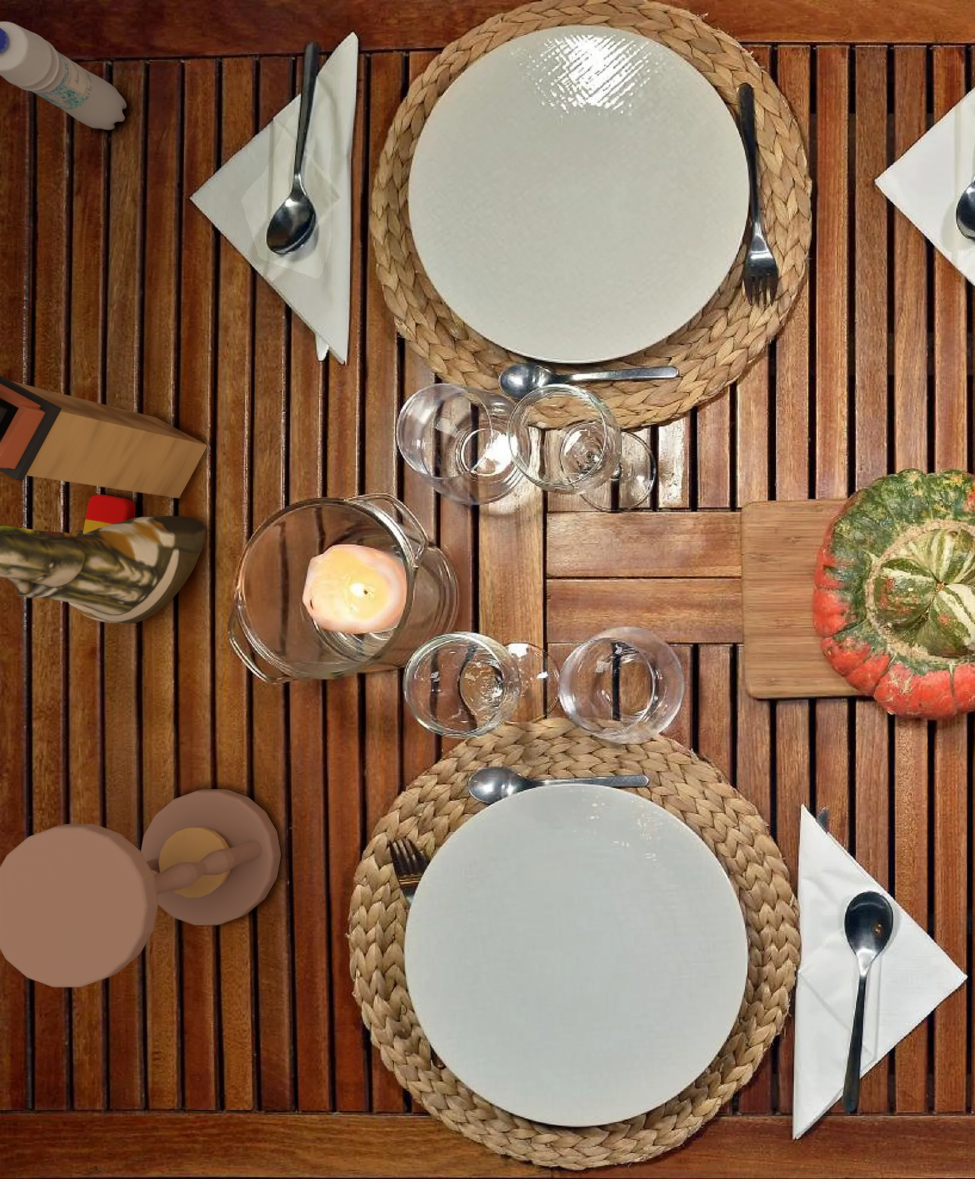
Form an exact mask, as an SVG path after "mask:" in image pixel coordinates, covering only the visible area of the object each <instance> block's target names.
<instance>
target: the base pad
mask: <svg viewBox="0 0 975 1179" xmlns="http://www.w3.org/2000/svg"><path fill="white" fill-rule="evenodd" d="M12 381H13V380H10V379H8V378H7V377H5V376H2V375H1V374H0V406H1V407H3V408H5V409H6V410H7V412H6V414H5V416H4V417H3V419H2V421H1V423H0V472H1V473H2V474H4V475H5V476H8V477H9V478H12V479H13V480H16V481H22V482H23V481H24V480H25V478H26V474H27V473H28V471H29V469H30V467H31V465H32V463H33V461H34V460H35V458H36V456H37V454H38V452H39V450H40V449H41V447H42V445H43V443H44V441H45V439H46V437H47V436H48V434H49V432H50V430H51V428H52V426H53V424H54V423H55V421H56V419H57V417H58V415H59V413H60V411H61V410H62V408H60V407H58V406H56V405H54V404H53V403H51V402H49V401H47V400H45V399H43V398H42V397H40V396H38V395H36V394H34V393H32V392H30V391H29V390H27V389H25V388H23V387H21V386H19V385H17V384H16V383H14V382H15V381H13V382H12Z"/></svg>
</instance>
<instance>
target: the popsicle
mask: <svg viewBox="0 0 975 1179" xmlns="http://www.w3.org/2000/svg"><path fill="white" fill-rule="evenodd" d="M136 508H137V507H136V504H135V502H134V501H133V500H131V499H129V498H125V497H121V496H116V495H115V496H113V495H108V494H100V493H98V494H94V495H92V496H91V497H90V498H89V499H88V503H87V508H86V513H85V519H84V524H83V529H82V530H83V534H84V533H87V532H90V531H93V530H96V529H98V528H102V527H106V526H109V525H112V524H115V523H118V522H122V521H126V520H130V519H133V518H136V517H135V516H136V510H137V509H136Z"/></svg>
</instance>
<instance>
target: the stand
mask: <svg viewBox="0 0 975 1179" xmlns="http://www.w3.org/2000/svg"><path fill="white" fill-rule="evenodd" d="M11 381H12V382H14V383H16V384H17V385H19V386H21V387H23V388H25V389H27V390H29V391H30V392H32V393H34V394H36V395H38V396H40V397H42V398H43V399H45V400H47V401H49V402H51V403H53V404H54V405H56V406H58V407H60V408H62V410H61V411H60V413H59V415H58V417H57V419H56V421H55V423H54V424H53V426H52V428H51V430H50V432H49V434H48V436H47V437H46V439H45V441H44V443H43V445H42V447H41V449H40V450H39V452H38V454H37V456H36V458H35V460H34V461H33V463H32V465H31V467H30V469H29V471H28V473H27V474H26V476H27V477H34V478H40V479H46V480H53V481H61V482H66V483H67V482H68V483H74V484H79V485H80V484H81V485H86V486H87V485H88V486H95V487H101V488H106V489H107V488H108V489H113V490H114V489H115V490H120V491H121V490H122V491H126V492H134V493H141V494H145V495H146V494H147V495H153V496H161V497H167V498H173V499H180V498H181V496H182V494H183V492H184V490H185V488H186V487H187V485H188V483H189V481H190V479H191V477H192V475H193V473H194V472H195V470H196V468H197V467H198V464H199V462H200V460H201V459H202V457H203V455H204V453H205V452H206V449H207V448H208V444H206V443H204V442H202V441H201V440H198V439H197V438H195V437H193V436H191V435H189V434H187V433H185V432H184V431H182V430H181V429H178V428H176V427H175V426H173V425H171V424H169V423H167V422H165V421H164V420H161V419H159V418H157V417H155V416H153V415H152V416H151V415H149V414H148V415H147V414H144V413H139V412H135V411H132V410H128V409H125V408H124V409H123V408H119V407H116V406H112V405H108V404H104V403H100V402H96V401H91V400H88V399H83V398H80V397H76V396H73V395H68V394H64V393H60V392H56V391H52V390H49V389H44V388H41V387H36V386H32V385H28V384H25V383H20V382H16V381H13V380H11ZM26 476H25V477H26Z"/></svg>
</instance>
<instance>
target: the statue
mask: <svg viewBox="0 0 975 1179" xmlns="http://www.w3.org/2000/svg"><path fill="white" fill-rule="evenodd" d="M206 533H207V529H206V526H205V524H204V523H203V522H202V521H200V520H198V519H196V518H193V517H188V516H180V515H164V514H163V515H160V514H159V515H145V516H139V517H134V518H133V519H130V520H126V521H122V522H118V523H115V524H112V525H109V526H106V527H102V528H98V529H96V530H93V531H90V532H87V533H84V534H83V529H77V530H75V531H72V532H70V533H68V532H63V531H54V530H53V531H51V530H38V529H30V528H23V527H17V526H11V525H5V524H0V578H6V579H7V580H8V581H9V582H10V583H11V584H12V585H13V586H14V587H16V588H17V590H16V594H17V597H24V598H26V599H47V600H53V601H57V602H65V603H68V604H69V605H70V606H71V607H72V608H75V609H77V611H78V612H79V613H80V615H81V616H85V617H87V618H89V619H91V620H94V621H97V622H102V623H111V624H121V625H131V624H137V623H139V622H142V621H145V620H147V619H148V618H150V617H153V615H155V614H157V613H158V612H160V611H161V610H162V609H163V608H164V607H165V606H167V605H168V604H169V603H170V602H171V601H172V600H173V599H174V597H175V596H176V595H177V594H178V593H179V592H180V590H181V589H182V588H183V586H184V585H185V583H186V582H187V580H188V579H189V578H190V576H191V574H192V572H193V570H194V569H195V567H196V565H197V563H198V560H199V557H200V555H201V552H202V551H203V548H204V545H205V544H204V543H205V539H206Z"/></svg>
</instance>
